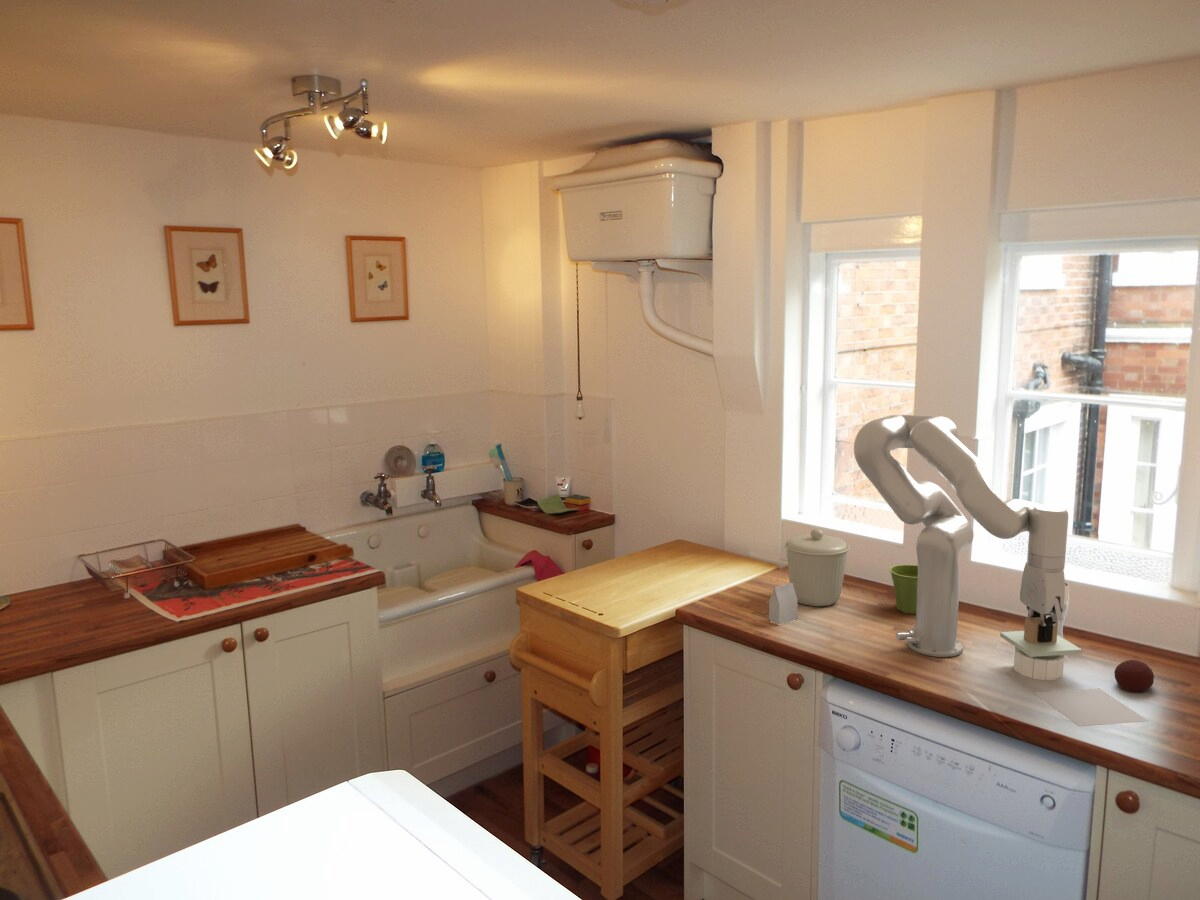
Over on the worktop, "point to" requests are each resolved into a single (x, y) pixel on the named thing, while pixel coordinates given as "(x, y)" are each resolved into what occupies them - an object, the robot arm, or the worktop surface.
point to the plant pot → (905, 587)
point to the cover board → (1040, 647)
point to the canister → (816, 567)
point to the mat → (1090, 707)
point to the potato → (1134, 676)
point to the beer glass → (1060, 623)
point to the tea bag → (783, 604)
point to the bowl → (1039, 666)
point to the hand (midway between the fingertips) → (1039, 637)
